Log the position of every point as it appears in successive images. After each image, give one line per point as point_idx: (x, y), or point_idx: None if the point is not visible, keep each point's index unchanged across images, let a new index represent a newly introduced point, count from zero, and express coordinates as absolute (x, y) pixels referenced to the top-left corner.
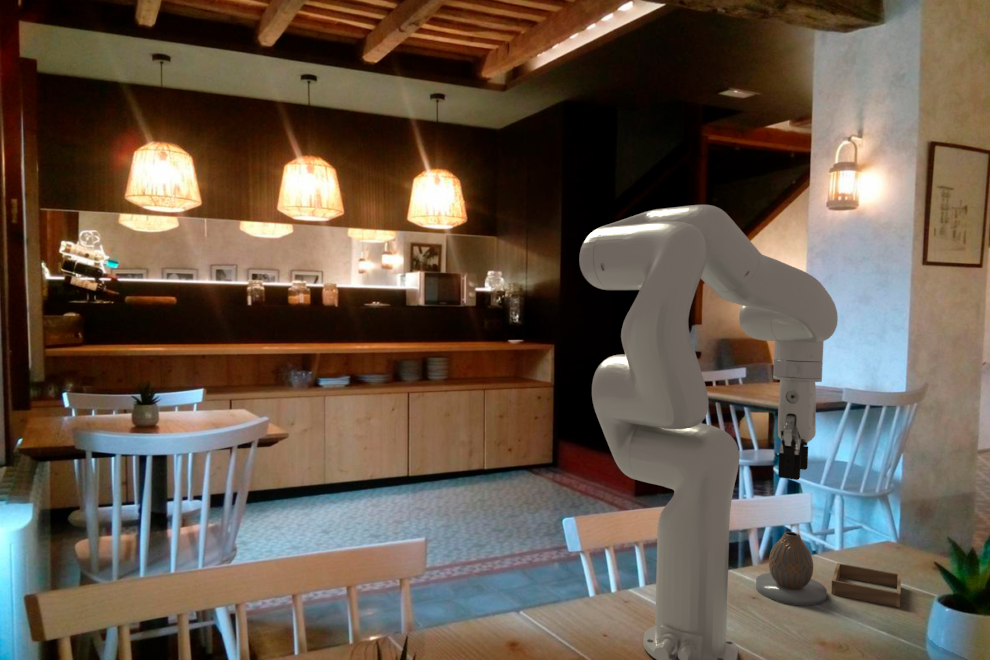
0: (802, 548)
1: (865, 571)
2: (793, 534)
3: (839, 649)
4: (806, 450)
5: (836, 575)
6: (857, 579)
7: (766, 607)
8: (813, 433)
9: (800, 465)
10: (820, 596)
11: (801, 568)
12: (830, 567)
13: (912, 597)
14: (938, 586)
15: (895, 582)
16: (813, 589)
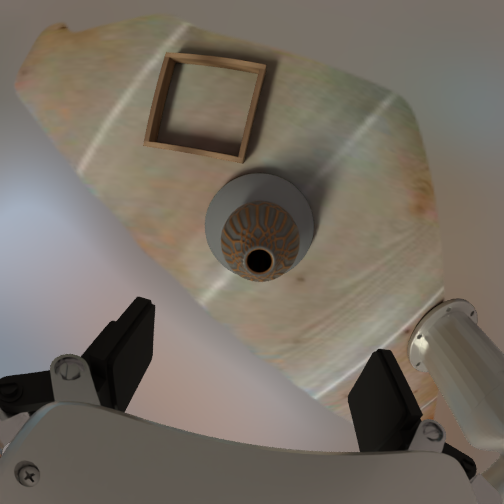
0: (281, 234)
1: (159, 102)
2: (241, 253)
3: (430, 192)
4: (119, 355)
5: (210, 152)
6: (161, 115)
7: (332, 264)
8: (266, 483)
9: (148, 328)
10: (296, 188)
11: (297, 228)
12: (120, 153)
13: (212, 47)
14: (153, 15)
15: (172, 63)
16: (268, 194)
